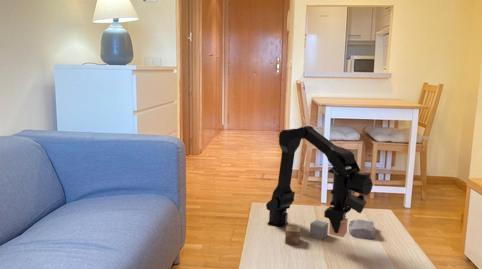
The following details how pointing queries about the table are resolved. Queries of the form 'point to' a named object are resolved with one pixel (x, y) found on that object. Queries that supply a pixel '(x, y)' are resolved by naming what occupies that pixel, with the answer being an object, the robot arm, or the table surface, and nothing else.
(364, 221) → the stone block
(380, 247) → the table surface
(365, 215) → the table surface
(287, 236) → the walnut cube
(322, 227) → the slate grey cube
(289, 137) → the robot arm
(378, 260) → the table surface
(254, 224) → the table surface
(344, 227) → the terracotta cube
